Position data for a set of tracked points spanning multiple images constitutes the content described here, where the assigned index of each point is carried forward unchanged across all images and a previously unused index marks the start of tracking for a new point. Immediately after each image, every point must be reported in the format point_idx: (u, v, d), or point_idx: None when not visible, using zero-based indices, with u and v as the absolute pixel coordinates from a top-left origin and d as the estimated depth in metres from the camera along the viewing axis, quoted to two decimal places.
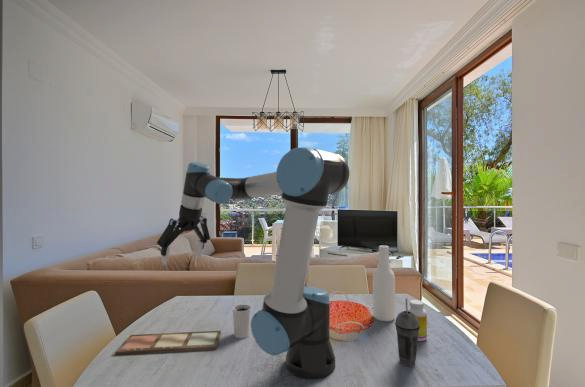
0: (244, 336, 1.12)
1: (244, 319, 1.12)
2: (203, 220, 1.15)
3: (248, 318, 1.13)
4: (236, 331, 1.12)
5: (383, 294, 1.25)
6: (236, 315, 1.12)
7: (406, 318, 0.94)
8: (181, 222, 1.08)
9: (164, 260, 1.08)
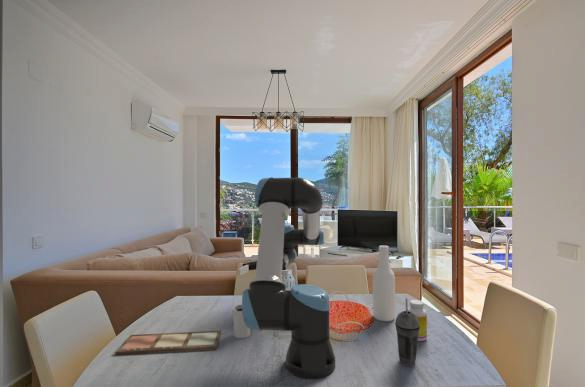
0: (244, 336, 1.12)
1: None
2: None
3: None
4: (236, 331, 1.12)
5: (383, 294, 1.25)
6: (236, 315, 1.12)
7: (406, 318, 0.94)
8: None
9: None
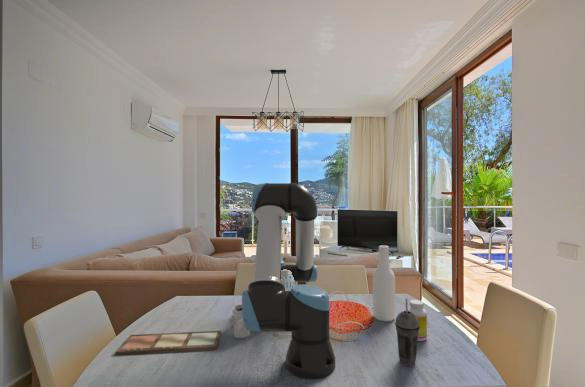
0: (244, 336, 1.12)
1: None
2: None
3: None
4: (236, 331, 1.12)
5: (383, 294, 1.25)
6: (235, 314, 1.12)
7: (406, 318, 0.94)
8: None
9: None
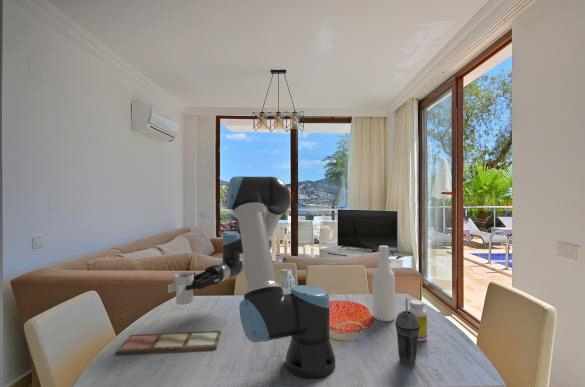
0: (185, 302, 1.11)
1: None
2: None
3: (189, 284, 1.12)
4: (177, 297, 1.12)
5: (383, 294, 1.25)
6: (176, 281, 1.11)
7: (406, 318, 0.94)
8: None
9: None
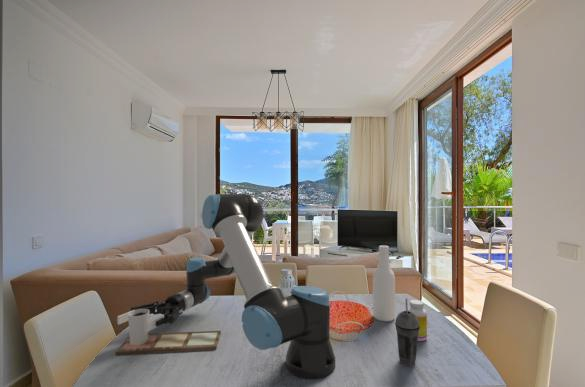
0: (138, 343, 1.05)
1: (138, 325, 1.04)
2: None
3: (144, 324, 1.05)
4: (130, 337, 1.05)
5: (383, 294, 1.25)
6: (129, 320, 1.05)
7: (406, 318, 0.94)
8: None
9: None
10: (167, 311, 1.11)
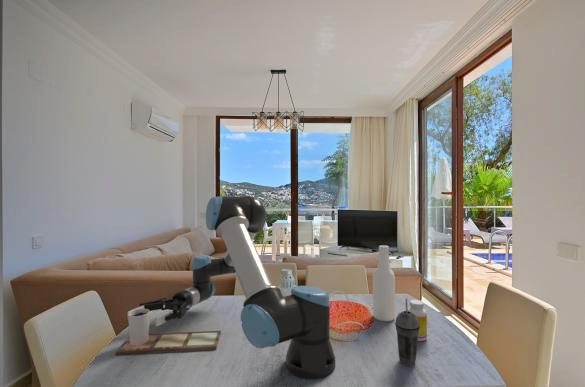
0: (138, 343, 1.05)
1: (138, 325, 1.04)
2: None
3: (144, 324, 1.05)
4: (130, 337, 1.05)
5: (383, 294, 1.25)
6: (129, 320, 1.05)
7: (406, 318, 0.94)
8: None
9: None
10: (175, 307, 1.15)
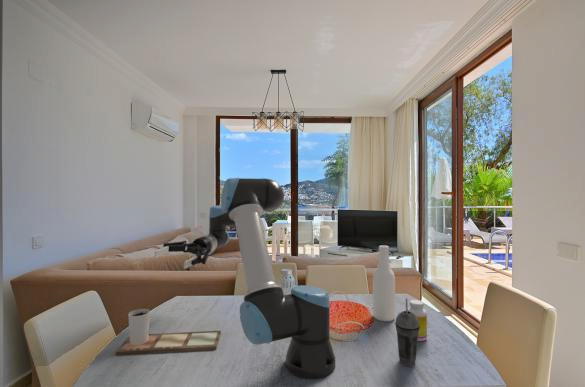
0: (139, 343, 1.05)
1: (138, 325, 1.04)
2: None
3: (144, 324, 1.05)
4: (130, 337, 1.05)
5: (383, 294, 1.25)
6: (129, 320, 1.05)
7: (406, 318, 0.94)
8: (189, 243, 1.30)
9: None
10: (199, 252, 1.23)
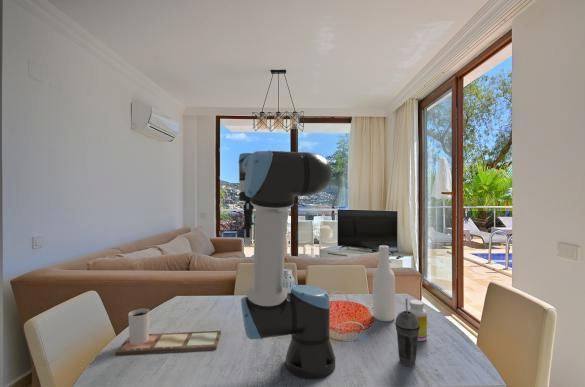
0: (139, 343, 1.05)
1: (138, 325, 1.04)
2: (250, 204, 1.33)
3: (144, 324, 1.05)
4: (130, 337, 1.05)
5: (383, 294, 1.25)
6: (129, 320, 1.05)
7: (406, 318, 0.94)
8: None
9: (249, 242, 1.20)
10: (251, 216, 1.32)
